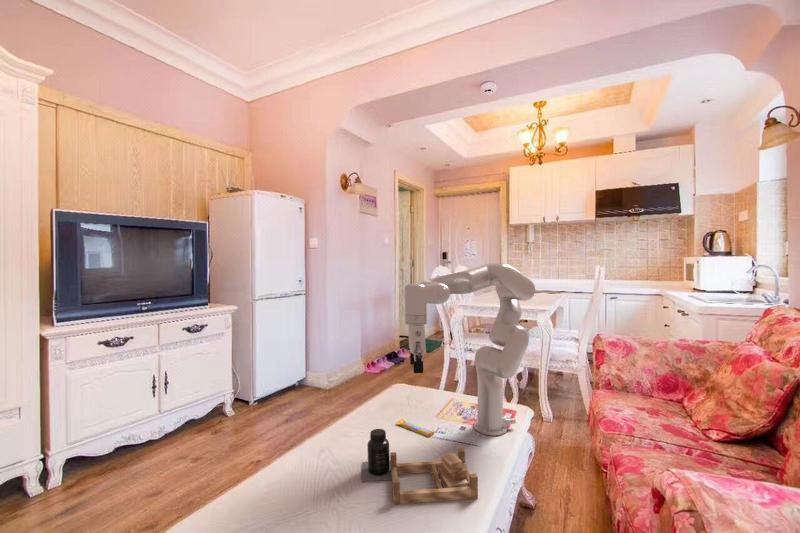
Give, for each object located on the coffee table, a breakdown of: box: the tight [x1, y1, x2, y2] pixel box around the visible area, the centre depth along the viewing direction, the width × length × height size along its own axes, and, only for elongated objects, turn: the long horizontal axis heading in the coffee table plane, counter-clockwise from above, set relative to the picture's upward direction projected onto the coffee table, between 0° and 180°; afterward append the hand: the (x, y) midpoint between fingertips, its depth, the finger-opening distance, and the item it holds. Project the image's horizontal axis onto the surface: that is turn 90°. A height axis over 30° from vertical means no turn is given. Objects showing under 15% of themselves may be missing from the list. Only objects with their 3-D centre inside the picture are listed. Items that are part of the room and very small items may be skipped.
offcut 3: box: [438, 472, 468, 488], centre depth 108 cm, size 6×9×3 cm, turn 14°
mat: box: [361, 461, 392, 483], centre depth 114 cm, size 10×10×1 cm
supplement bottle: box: [366, 428, 390, 476], centre depth 114 cm, size 7×7×12 cm
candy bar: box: [396, 419, 435, 438], centre depth 141 cm, size 17×4×2 cm, turn 48°
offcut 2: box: [438, 462, 467, 484], centre depth 107 cm, size 5×7×2 cm
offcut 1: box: [441, 453, 462, 473], centre depth 107 cm, size 4×5×2 cm
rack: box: [389, 447, 479, 505], centre depth 107 cm, size 23×15×6 cm, turn 95°
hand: (416, 368), depth 126 cm, fingers open, 9 cm apart
